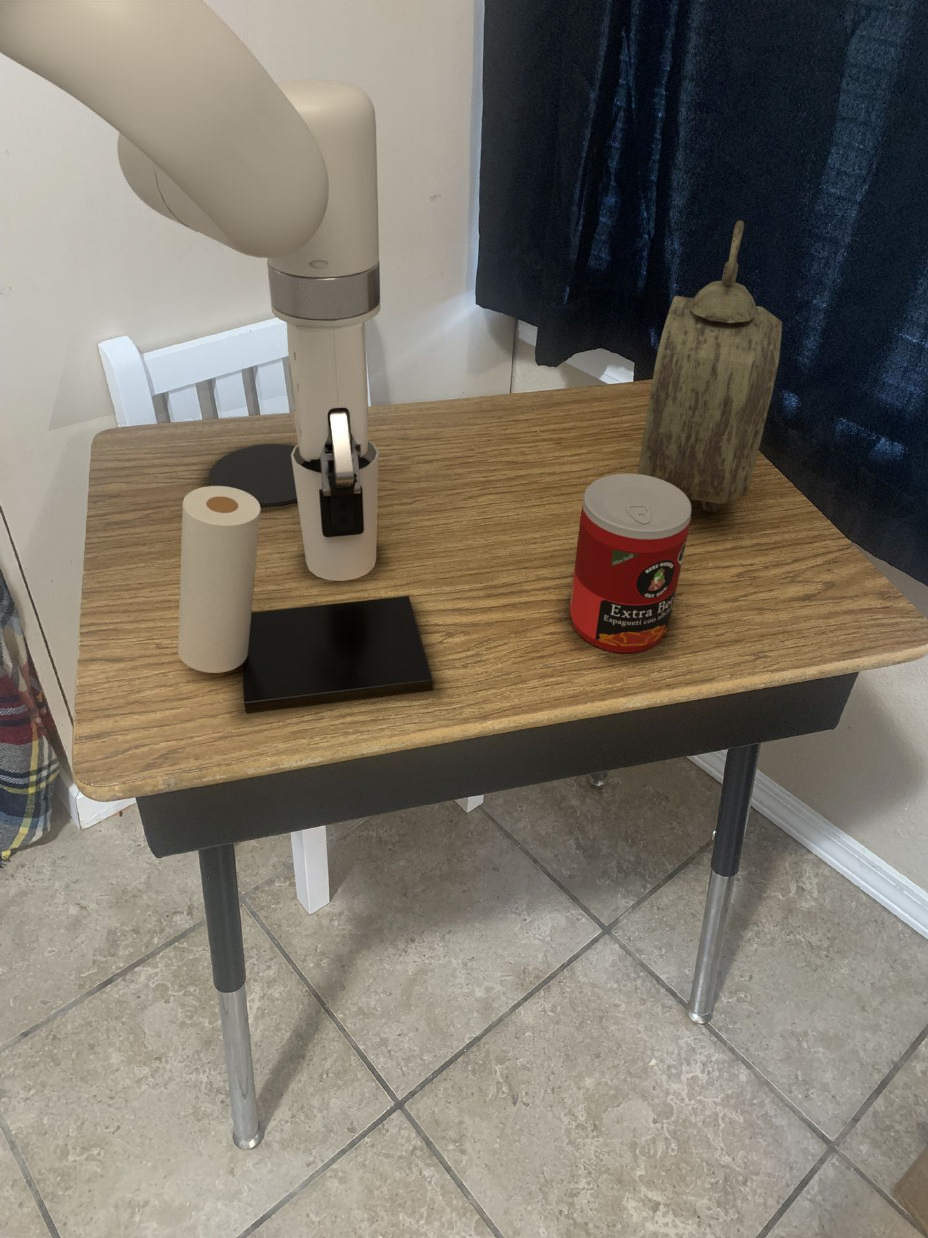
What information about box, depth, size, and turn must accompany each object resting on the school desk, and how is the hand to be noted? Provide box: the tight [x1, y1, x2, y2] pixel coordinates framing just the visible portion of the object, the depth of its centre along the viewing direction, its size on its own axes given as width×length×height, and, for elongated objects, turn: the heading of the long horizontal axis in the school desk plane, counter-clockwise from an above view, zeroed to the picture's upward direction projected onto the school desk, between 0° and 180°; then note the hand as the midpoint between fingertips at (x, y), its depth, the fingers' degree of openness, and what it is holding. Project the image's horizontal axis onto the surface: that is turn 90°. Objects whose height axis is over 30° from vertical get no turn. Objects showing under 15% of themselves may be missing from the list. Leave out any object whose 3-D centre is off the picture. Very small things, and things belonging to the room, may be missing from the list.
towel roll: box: [177, 485, 262, 674], centre depth 66 cm, size 12×5×5 cm
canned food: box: [569, 473, 692, 654], centre depth 72 cm, size 8×8×11 cm
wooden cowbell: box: [637, 220, 783, 514], centre depth 82 cm, size 14×9×25 cm, turn 164°
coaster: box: [208, 443, 298, 508], centre depth 92 cm, size 11×11×1 cm
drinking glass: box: [291, 439, 380, 582], centre depth 78 cm, size 7×7×10 cm
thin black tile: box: [241, 595, 434, 714], centre depth 71 cm, size 13×10×1 cm
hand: (338, 509), depth 78 cm, fingers closed on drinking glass, 5 cm apart
